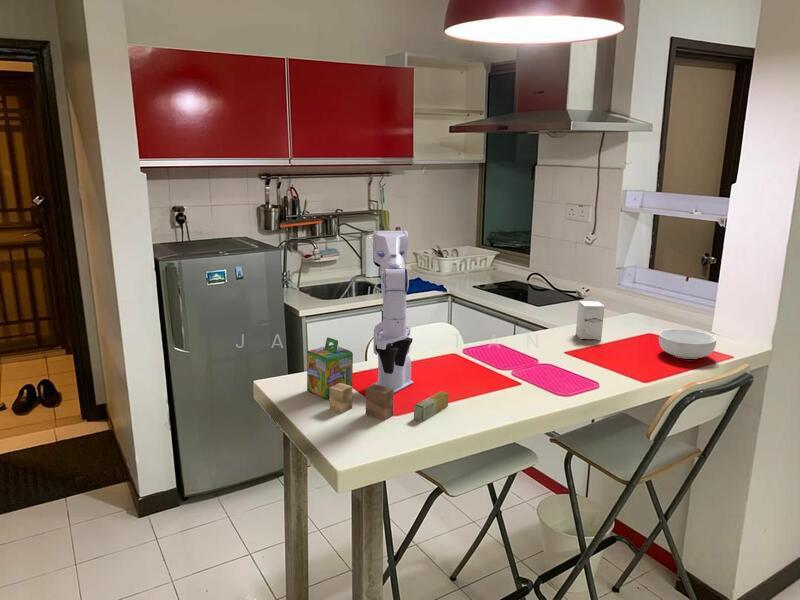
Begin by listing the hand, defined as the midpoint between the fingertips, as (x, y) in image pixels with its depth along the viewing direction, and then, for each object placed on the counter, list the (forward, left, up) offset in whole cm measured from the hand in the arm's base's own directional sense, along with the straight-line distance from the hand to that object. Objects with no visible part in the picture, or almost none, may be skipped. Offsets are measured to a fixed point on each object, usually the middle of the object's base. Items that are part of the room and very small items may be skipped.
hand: (394, 369), depth 151 cm
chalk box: (+2, -20, -11) cm, 23 cm away
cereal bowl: (-89, +52, -11) cm, 104 cm away
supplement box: (-90, +20, -11) cm, 93 cm away
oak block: (+9, -10, -11) cm, 17 cm away
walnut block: (+6, 0, -11) cm, 12 cm away
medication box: (-3, +9, -11) cm, 15 cm away
